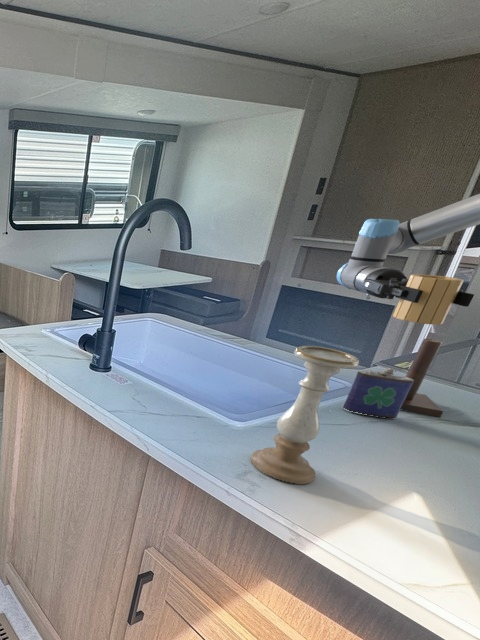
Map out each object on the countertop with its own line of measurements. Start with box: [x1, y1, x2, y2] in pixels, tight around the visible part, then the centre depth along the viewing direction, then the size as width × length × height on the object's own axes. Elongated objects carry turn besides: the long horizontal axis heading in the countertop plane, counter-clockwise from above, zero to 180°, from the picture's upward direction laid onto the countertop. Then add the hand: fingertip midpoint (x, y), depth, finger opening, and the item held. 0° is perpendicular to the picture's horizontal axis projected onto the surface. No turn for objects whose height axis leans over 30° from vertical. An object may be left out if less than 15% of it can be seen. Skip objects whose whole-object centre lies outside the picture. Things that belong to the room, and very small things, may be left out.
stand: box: [400, 338, 444, 418], centre depth 94 cm, size 10×10×15 cm
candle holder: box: [250, 345, 360, 485], centre depth 66 cm, size 9×9×20 cm
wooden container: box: [392, 273, 464, 326], centre depth 99 cm, size 8×8×10 cm
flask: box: [342, 366, 414, 419], centre depth 89 cm, size 9×3×11 cm, turn 68°
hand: (443, 298), depth 95 cm, fingers closed on wooden container, 9 cm apart
